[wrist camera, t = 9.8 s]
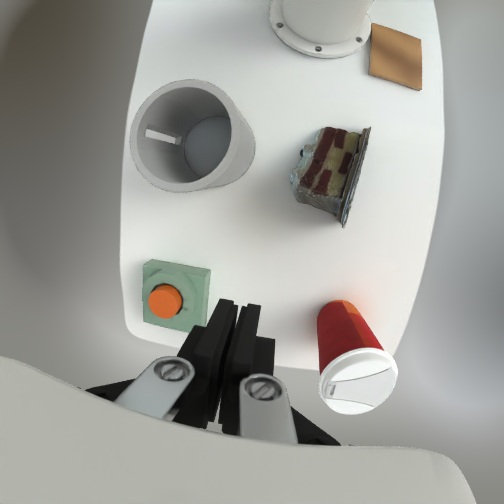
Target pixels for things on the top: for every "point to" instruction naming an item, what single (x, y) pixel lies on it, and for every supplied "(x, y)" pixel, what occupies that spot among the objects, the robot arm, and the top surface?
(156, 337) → the top surface
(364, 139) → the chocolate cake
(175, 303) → the power button
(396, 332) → the top surface
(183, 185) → the cup
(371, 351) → the paper cup
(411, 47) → the cork trivet
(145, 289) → the button base
